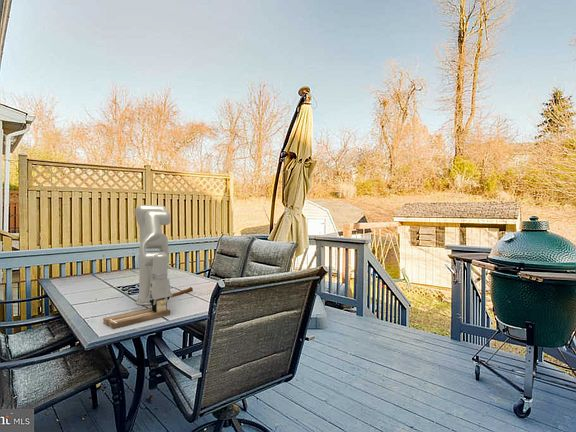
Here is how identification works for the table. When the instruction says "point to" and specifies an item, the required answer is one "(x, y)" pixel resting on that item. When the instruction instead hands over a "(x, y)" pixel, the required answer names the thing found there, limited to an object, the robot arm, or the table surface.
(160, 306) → the marking gauge
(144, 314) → the board
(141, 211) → the robot arm
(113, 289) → the table surface
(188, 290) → the primitive tool
